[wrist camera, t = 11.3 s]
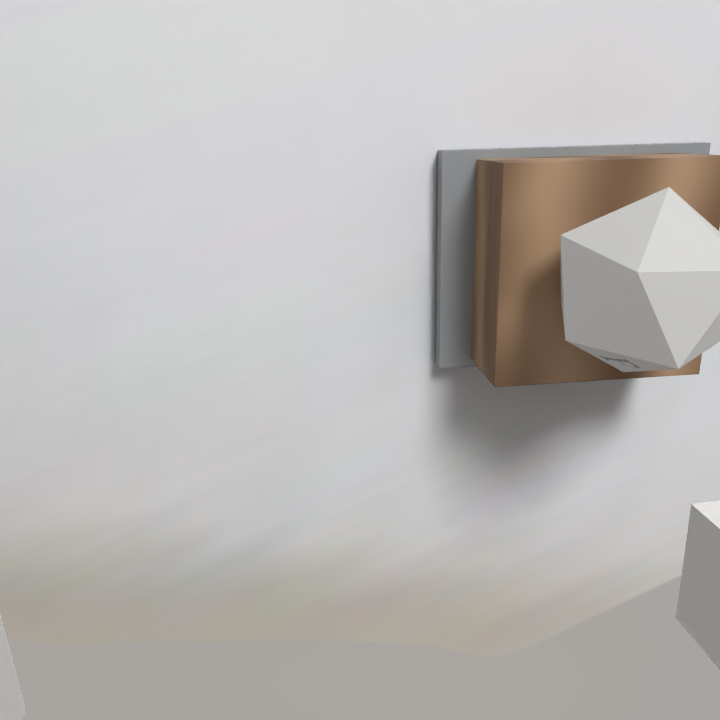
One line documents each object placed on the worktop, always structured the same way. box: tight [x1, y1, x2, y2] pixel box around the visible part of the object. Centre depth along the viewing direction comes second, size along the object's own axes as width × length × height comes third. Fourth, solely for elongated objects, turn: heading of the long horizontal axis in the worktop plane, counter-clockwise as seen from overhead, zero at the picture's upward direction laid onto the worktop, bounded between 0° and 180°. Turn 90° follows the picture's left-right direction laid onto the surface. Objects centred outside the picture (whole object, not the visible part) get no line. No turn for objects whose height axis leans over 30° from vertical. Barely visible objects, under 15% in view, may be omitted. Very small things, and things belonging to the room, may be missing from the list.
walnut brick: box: [471, 153, 720, 387], centre depth 39 cm, size 12×12×5 cm
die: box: [561, 187, 720, 372], centre depth 33 cm, size 8×9×10 cm
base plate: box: [436, 143, 710, 368], centre depth 42 cm, size 16×13×1 cm
